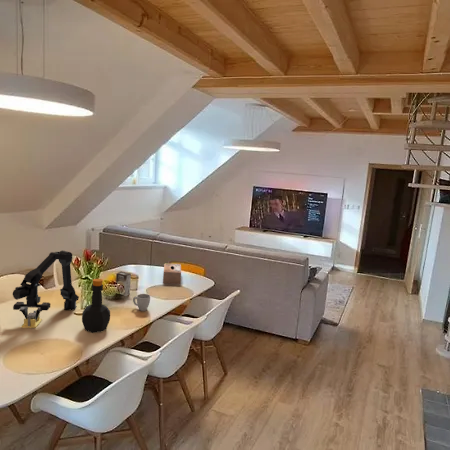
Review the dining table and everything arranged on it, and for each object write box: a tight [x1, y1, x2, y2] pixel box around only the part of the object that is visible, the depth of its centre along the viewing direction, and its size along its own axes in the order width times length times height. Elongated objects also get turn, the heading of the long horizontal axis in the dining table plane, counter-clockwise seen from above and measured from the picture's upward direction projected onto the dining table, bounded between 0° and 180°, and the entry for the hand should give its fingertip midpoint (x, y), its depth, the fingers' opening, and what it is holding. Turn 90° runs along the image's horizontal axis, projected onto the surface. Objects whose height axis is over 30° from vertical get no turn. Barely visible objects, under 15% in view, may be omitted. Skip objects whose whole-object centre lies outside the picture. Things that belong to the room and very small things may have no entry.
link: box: [27, 312, 37, 321], centre depth 223 cm, size 4×5×5 cm
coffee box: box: [115, 270, 132, 297], centre depth 283 cm, size 9×6×16 cm
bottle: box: [81, 278, 111, 334], centre depth 223 cm, size 16×16×30 cm
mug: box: [132, 293, 151, 312], centre depth 258 cm, size 12×9×10 cm
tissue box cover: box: [162, 263, 182, 285], centre depth 329 cm, size 26×14×10 cm, turn 8°
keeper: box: [20, 310, 43, 329], centre depth 223 cm, size 8×11×6 cm
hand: (32, 319), depth 224 cm, fingers open, 5 cm apart
